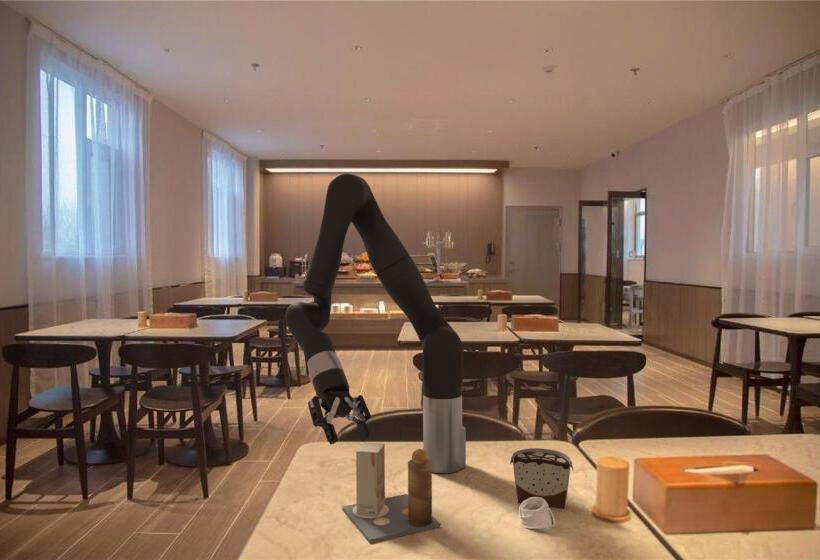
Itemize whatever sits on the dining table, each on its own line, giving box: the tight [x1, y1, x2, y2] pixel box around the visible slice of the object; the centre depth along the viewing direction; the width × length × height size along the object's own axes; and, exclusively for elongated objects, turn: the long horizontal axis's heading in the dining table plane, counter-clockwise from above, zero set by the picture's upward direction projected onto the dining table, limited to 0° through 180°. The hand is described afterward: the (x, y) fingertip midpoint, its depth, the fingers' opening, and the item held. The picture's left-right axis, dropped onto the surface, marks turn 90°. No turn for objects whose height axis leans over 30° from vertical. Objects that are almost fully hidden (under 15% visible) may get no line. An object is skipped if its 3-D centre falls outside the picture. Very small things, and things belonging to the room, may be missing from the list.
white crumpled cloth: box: [518, 497, 557, 530], centre depth 107 cm, size 8×7×5 cm
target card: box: [341, 493, 442, 544], centre depth 110 cm, size 14×15×1 cm
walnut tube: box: [407, 448, 433, 527], centre depth 107 cm, size 4×4×14 cm
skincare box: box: [355, 441, 386, 516], centre depth 112 cm, size 6×4×12 cm
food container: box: [509, 447, 574, 511], centre depth 117 cm, size 12×6×10 cm, turn 71°
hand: (350, 441), depth 123 cm, fingers open, 8 cm apart
